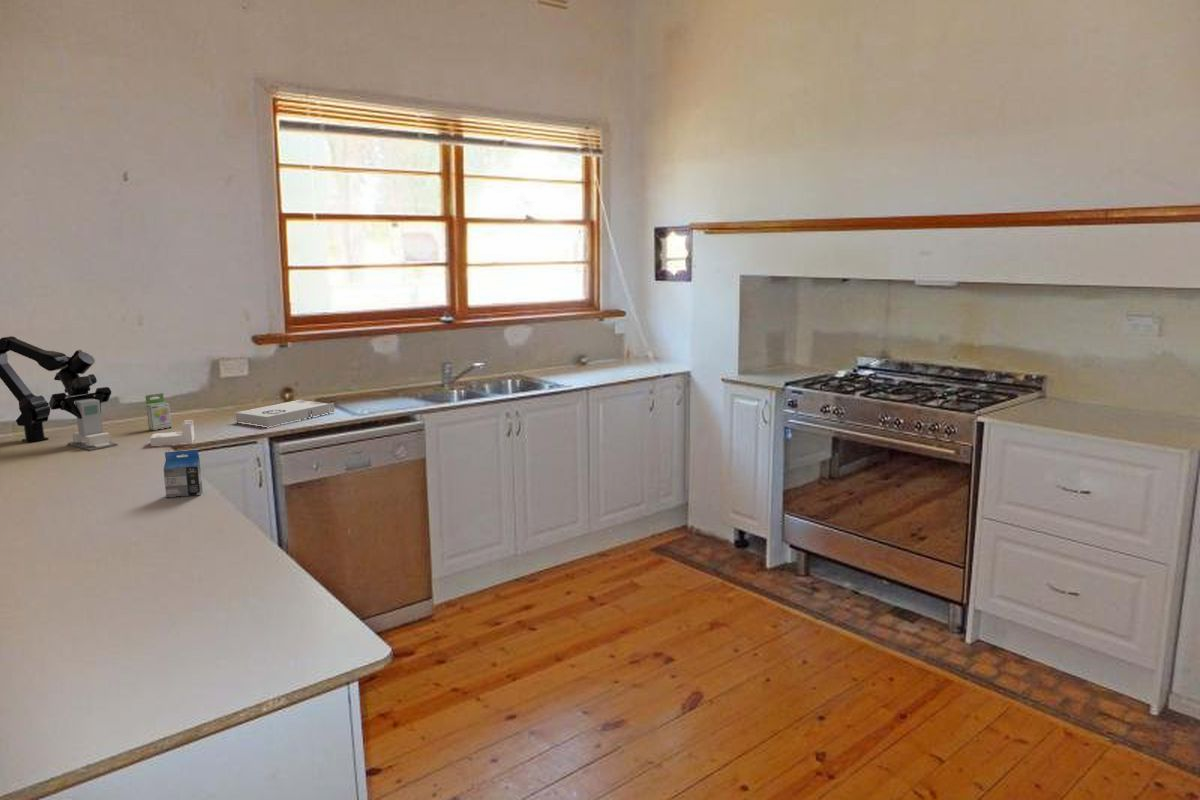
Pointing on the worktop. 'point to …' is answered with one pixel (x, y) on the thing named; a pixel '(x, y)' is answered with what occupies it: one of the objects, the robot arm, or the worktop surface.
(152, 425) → the ink box
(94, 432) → the grey module
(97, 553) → the worktop surface
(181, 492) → the blue retail package
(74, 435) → the module rail
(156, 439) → the bracket
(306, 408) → the power supply unit
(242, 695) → the worktop surface
